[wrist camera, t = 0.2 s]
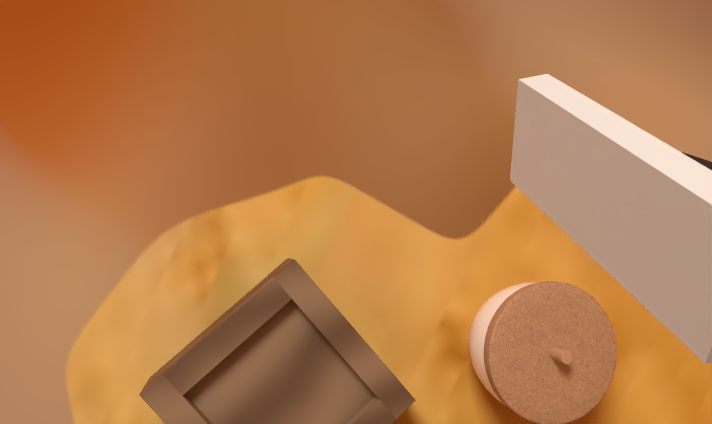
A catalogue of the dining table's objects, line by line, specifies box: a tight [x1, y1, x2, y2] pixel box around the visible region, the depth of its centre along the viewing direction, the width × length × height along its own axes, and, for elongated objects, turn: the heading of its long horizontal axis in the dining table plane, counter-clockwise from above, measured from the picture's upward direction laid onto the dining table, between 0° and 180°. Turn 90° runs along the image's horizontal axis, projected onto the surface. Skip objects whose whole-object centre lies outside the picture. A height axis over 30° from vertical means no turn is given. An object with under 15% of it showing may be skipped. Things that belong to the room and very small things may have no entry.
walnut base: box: [140, 258, 415, 424], centre depth 45 cm, size 14×14×5 cm
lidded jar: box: [469, 282, 617, 424], centre depth 47 cm, size 11×11×9 cm
